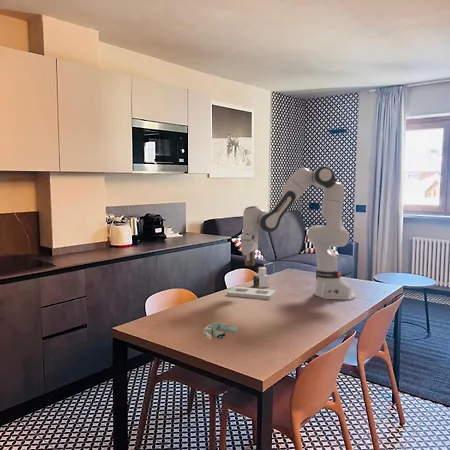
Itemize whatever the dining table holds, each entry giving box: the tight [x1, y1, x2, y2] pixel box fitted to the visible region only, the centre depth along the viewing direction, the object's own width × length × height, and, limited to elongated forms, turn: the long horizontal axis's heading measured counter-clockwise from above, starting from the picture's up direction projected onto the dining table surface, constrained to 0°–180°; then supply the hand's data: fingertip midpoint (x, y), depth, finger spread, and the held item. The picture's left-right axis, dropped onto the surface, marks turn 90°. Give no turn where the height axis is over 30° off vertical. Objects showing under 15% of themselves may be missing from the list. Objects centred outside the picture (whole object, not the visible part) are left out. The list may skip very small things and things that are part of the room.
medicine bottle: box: [252, 266, 270, 289], centre depth 257 cm, size 7×7×12 cm
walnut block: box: [244, 250, 256, 267], centre depth 237 cm, size 4×4×8 cm
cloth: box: [203, 321, 239, 340], centre depth 180 cm, size 20×22×2 cm
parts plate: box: [226, 286, 277, 301], centre depth 239 cm, size 25×13×2 cm, turn 69°
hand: (249, 259), depth 237 cm, fingers closed on walnut block, 4 cm apart
